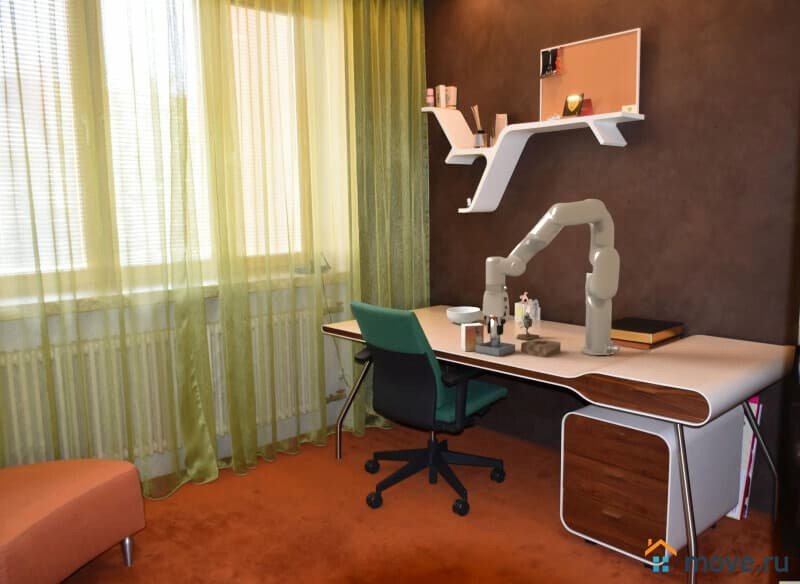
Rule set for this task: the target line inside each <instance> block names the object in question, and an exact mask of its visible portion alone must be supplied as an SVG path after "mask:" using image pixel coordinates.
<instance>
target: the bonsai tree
mask: <svg viewBox="0 0 800 584" xmlns="http://www.w3.org/2000/svg"><path fill="white" fill-rule="evenodd" d="M530 314H531V312H530V311H528V312H526V313H525V314H524V315H523V326H519V329H522V328H524V329H525V332H526V333H520V334H517V336H516V340H519V341H520V340H521V341H524V342H527V341H530V340H533V339H540V334H534V333H530V331H529V329H530V328H532V326H533V319H532V318H531V315H530Z"/></svg>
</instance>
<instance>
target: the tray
mask: <svg viewBox="0 0 800 584" xmlns="http://www.w3.org/2000/svg"><path fill="white" fill-rule="evenodd" d="M515 352H516V344H514V343H509V342H502V341H500V347H498V348H493V347H490V340H489V341H487V342H484V343H482V344H479V345H476V351H475V353H476V354H482V355H486V356H492V357H497V358H501V357H503V356H507V355H510V354H513V353H515Z"/></svg>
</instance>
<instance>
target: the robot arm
mask: <svg viewBox="0 0 800 584" xmlns="http://www.w3.org/2000/svg"><path fill="white" fill-rule="evenodd" d="M583 224H588V225H589V227H590V247H589V256H588V260H589V263H590V264H591V266H592V273H591V274H590V275H589V276H588V277H587V279H586V281H585V287H584V288H585V290H584V291H585V339H584V340H585V341H584V342H585V343H584V346H583V347H582V348H581V349H580V351H581V353H582V354H584V355H588V356H595V355H607V356H609V355H608V354H612V353H614V352H618V353H619V352H620V350H621V347H620V345H615V344H614V341H612V340H611V339H612V335H611V334H612V311H613V310H612V309H613V308H612V307H613V306H612V305H613V304H612V298H614V296H615V295H616V294H617V291H618V288H619V278H620V277H619V276H620V266H621V265H620V262H621V260H620V254H619V252H618V250H616V249H615V248H614V247H615V246H614V245H615V225H614V221H613V218H612V216H611V214H610V213H609V211H608V210H607V208H606V205H605V204H604V202H603V201H602V200H600V199H597V198H588V199H584V200H581V201H580V200H579V201H573V202H558V203H555V204H553V205H551V207H549V209H548V210H547V212H546V213H545V214H544V215H543V216H542V217H541V218H540V219H539V220H538V222H537V223H536V225H534V227H533V228H532V229H531V230H530V231H529V232H528V233H527V234H526V236H525V237H524V238H523V239H522V240H521V241H520V242H519V243H518V244H517V246H515V248H514V249H513V250H512V252H511V253H510V254H509V255H508V256H507V257H504V256H503V257H502V256H489V257H487V258H486V260H485V291H484V294H483V301H482V310H481V311H480V316H481V317H482V318H483V320H484V321H485V324H486V326H487V331H486V332H487V334H488V335H490V317H489V315H492V316H496V317H497V318H498V324H499V325H497V335H500V336H502V335H503V334H504V325H505V324H506V323H507V322H508V321H509V320H511V318H512V317H511V315H510V302H509V295H508V291H506V290H508V286H506V276H510V277H519V276H521V275H523V274H524V273H525V272H526V268H527V266H526V265H527V264H528V263H529V261H530V260H531V259H532V258H533V257H534V256H535V255H537V253H538V252H540V251H542V250H543V249H545V248H546V247H547V246H548V245H549V244H550V243H551V242H553V239H554V238H555V237H556V236H557V235H558V234H559V233H560V232H561V231H562V229H563V228H564V227H565V226H576V225H583ZM614 354H615V353H614ZM612 355H613V354H612Z"/></svg>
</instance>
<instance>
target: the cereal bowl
mask: <svg viewBox="0 0 800 584" xmlns="http://www.w3.org/2000/svg"><path fill="white" fill-rule="evenodd" d="M480 314H481V308H479V307H474V306H455V307H450V308H447V309H446V317H447V319H448V320H449V321H451V322H453V323H455V324H456V323H457V324H456V325H460V324H471V323H475V322H476V321H478V320H479V319H480V316H481V315H480Z"/></svg>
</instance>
